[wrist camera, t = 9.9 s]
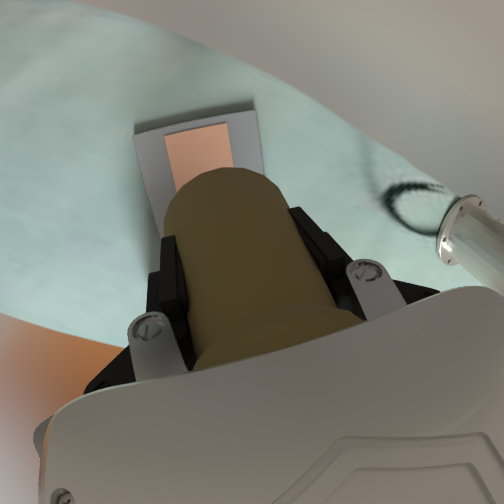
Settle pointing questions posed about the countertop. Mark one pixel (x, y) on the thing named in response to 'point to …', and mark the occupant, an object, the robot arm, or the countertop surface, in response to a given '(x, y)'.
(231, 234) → the cork
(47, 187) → the countertop surface
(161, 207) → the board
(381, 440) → the robot arm
